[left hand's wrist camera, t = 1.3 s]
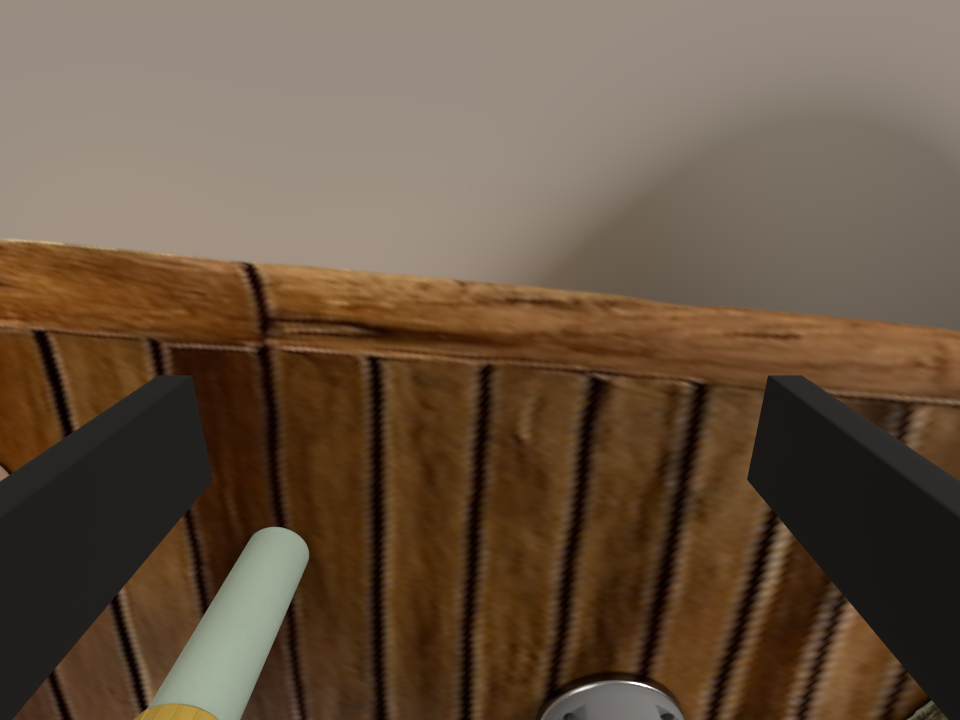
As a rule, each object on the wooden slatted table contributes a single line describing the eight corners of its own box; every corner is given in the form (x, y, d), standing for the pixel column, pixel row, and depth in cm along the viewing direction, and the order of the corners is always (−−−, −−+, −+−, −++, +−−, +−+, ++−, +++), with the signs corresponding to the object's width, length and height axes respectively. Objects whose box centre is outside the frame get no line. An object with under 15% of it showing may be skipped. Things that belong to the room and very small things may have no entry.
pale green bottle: (300, 583, 49) (204, 810, 32) (242, 565, 49) (111, 788, 31) (316, 537, 48) (222, 752, 30) (255, 519, 47) (124, 728, 30)
